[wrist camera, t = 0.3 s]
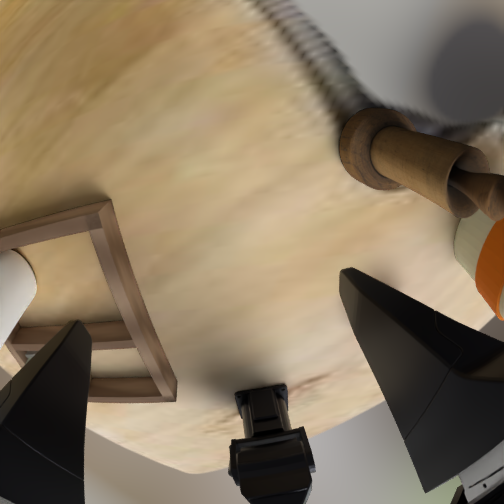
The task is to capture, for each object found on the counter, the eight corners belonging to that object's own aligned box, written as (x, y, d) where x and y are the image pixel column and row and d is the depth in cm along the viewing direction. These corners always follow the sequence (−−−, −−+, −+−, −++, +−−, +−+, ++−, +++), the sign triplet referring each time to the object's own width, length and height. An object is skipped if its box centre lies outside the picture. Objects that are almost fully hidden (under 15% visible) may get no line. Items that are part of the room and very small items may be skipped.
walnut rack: (177, 381, 31) (176, 401, 29) (52, 382, 30) (46, 398, 28) (111, 199, 21) (98, 212, 18) (-28, 239, 20) (-43, 252, 17)
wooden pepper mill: (371, 198, 24) (531, 334, 8) (322, 147, 21) (522, 259, 5) (417, 146, 22) (594, 230, 6) (373, 91, 19) (588, 123, 4)
